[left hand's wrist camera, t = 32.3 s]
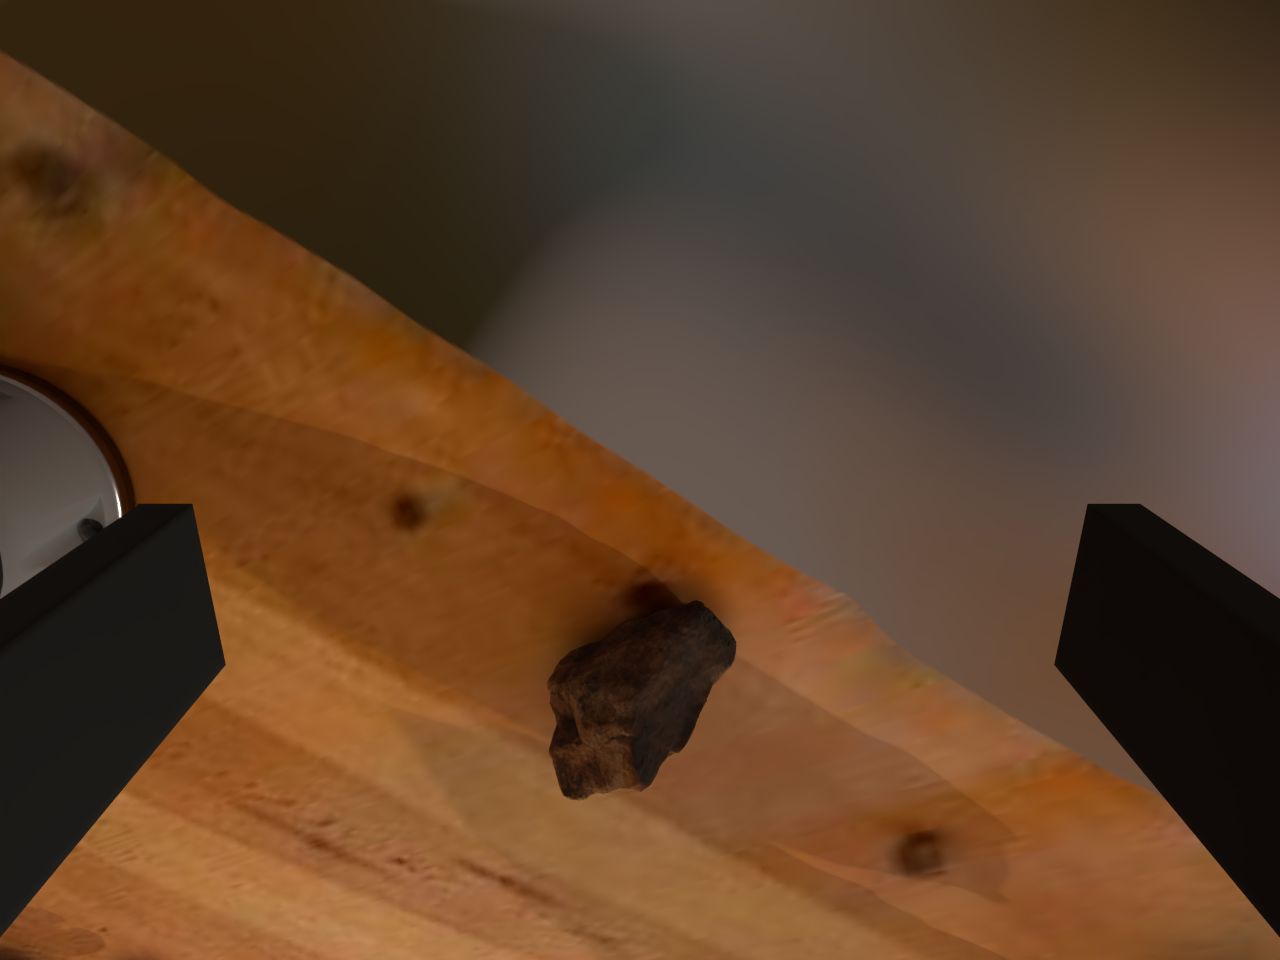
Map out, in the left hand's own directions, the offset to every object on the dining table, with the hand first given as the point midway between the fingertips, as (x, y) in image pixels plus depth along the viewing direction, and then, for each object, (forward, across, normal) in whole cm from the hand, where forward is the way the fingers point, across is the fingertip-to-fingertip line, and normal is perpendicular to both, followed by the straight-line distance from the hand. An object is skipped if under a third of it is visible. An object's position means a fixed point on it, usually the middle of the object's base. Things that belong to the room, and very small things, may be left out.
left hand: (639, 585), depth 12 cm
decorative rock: (+35, 0, -24) cm, 42 cm away
